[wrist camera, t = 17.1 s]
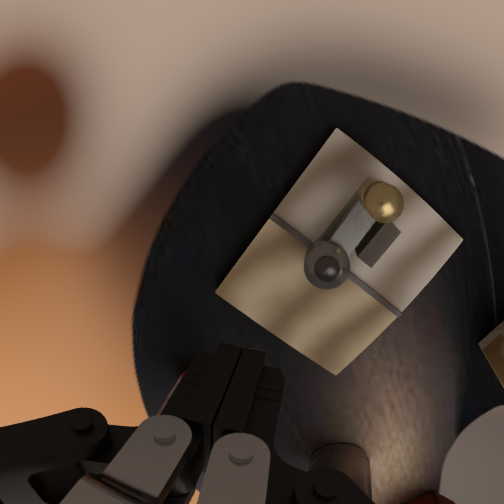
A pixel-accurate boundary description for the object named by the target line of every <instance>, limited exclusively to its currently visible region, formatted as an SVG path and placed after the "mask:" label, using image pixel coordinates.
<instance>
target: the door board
mask: <svg viewBox="0 0 504 504" xmlns="http://www.w3.org/2000/svg"><path fill="white" fill-rule="evenodd" d="M370 178H377V179H380V180H382V181H384V182H386V183H389V184H391V185H393V186H395V187H396V188H397V189H399V191H400V192H401V194H402V196H403V199H404V208H403V211H402V213H401V215H400V216H399V217H398V218H397V219H396V220H395V221H393V222H390V223H380V222H378V221H375V222H374V224H373V225H372V226H371V228H370V229H369V230H368V232H367V233H366V234H365V236H364V237H363V238H362V240H361V241H360V242H359V244H358V245H357V246H356V248H355V249H354V250H353V252H352V253H351V254H350V255H349V261H350V273H349V276H348V277H347V279H346V281H345V282H344V283H343V284H341V285H340V286H338V287H336V288H333V289H320V288H317V287H315V286H313V285H312V284H311V283H310V282H309V281H308V280H307V278H306V276H305V273H304V259H305V253H306V250H307V248H308V247H309V246H310V244H312V243H313V242H314V241H316V240H318V239H321V238H328V236H329V235H330V234H331V232H332V231H333V230H334V228H335V227H336V226H337V224H338V223H339V221H340V220H341V219H342V217H343V216H344V215H345V213H346V212H347V210H348V209H349V208H350V206H351V205H352V203H353V202H354V201H355V199H356V198H357V196H358V189H359V187H360V185H361V184H362V183H363V182H364V181H365V180H367V179H370ZM462 241H463V239H462V238H461V237H460V236H459V235H458V234H457V233H456V232H455V231H454V230H453V229H452V228H451V227H450V226H449V225H448V224H447V223H446V222H445V221H444V220H443V219H442V218H441V217H440V216H439V215H438V214H437V213H436V212H435V211H434V210H433V209H432V208H431V207H430V206H429V205H428V204H427V203H426V202H425V201H424V200H423V199H422V198H421V197H420V196H418V195H417V194H416V193H415V192H414V191H413V190H412V189H411V188H410V187H409V186H407V185H406V184H405V183H404V182H403V181H402V180H401V179H400V178H398V177H397V176H396V175H395V174H394V173H393V172H391V171H390V170H389V169H388V168H387V167H386V166H384V165H383V164H382V163H381V162H380V161H378V160H377V159H376V158H375V157H374V156H372V155H371V154H370V153H369V152H367V151H366V150H365V149H364V148H362V147H361V146H360V145H359V144H357V143H356V142H355V141H353V140H352V139H351V138H350V137H348V136H347V135H346V134H344V133H343V132H342V131H340V130H339V129H338V128H336V129H335V130H334V132H333V133H332V134H331V136H330V137H329V139H328V140H327V141H326V143H325V144H324V145H323V147H322V148H321V149H320V151H319V152H318V153H317V155H316V156H315V157H314V159H313V160H312V161H311V163H310V164H309V165H308V167H307V168H306V169H305V171H304V172H303V173H302V175H301V176H300V177H299V179H298V180H297V182H296V183H295V184H294V186H293V187H292V188H291V190H290V191H289V192H288V194H287V195H286V196H285V198H284V199H283V200H282V202H281V203H280V204H279V206H278V207H277V209H276V210H275V211H274V213H273V214H272V215H271V217H270V218H269V219H268V221H267V222H266V223H265V225H264V226H263V227H262V229H261V230H260V232H259V233H258V234H257V236H256V237H255V238H254V240H253V241H252V242H251V244H250V245H249V246H248V248H247V249H246V251H245V252H244V253H243V255H242V256H241V257H240V259H239V260H238V261H237V263H236V264H235V266H234V267H233V268H232V270H231V271H230V272H229V274H228V275H227V276H226V278H225V279H224V280H223V282H222V283H221V285H220V286H219V287H218V289H217V290H216V292H215V293H216V294H218V295H219V296H220V297H222V298H223V299H224V300H226V301H227V302H229V303H230V304H231V305H233V306H234V307H236V308H237V309H238V310H240V311H241V312H243V313H244V314H245V315H247V316H248V317H250V318H251V319H253V320H254V321H255V322H257V323H258V324H260V325H261V326H263V327H264V328H265V329H267V330H268V331H270V332H271V333H273V334H274V335H276V336H277V337H278V338H280V339H281V340H283V341H284V342H286V343H287V344H289V345H290V346H292V347H293V348H295V349H296V350H298V351H299V352H301V353H302V354H304V355H305V356H307V357H308V358H310V359H311V360H313V361H314V362H316V363H317V364H319V365H320V366H322V367H323V368H325V369H326V370H328V371H329V372H331V373H333V374H334V375H337V374H338V373H339V372H341V371H342V370H343V369H344V368H345V367H346V366H347V365H348V364H349V363H351V362H352V361H353V360H354V359H355V358H356V357H357V356H358V355H359V354H360V353H361V352H362V351H363V350H364V349H365V348H366V347H368V346H369V345H370V344H371V343H372V342H373V341H374V340H375V339H376V338H377V337H378V336H379V335H380V334H381V333H382V332H383V331H384V330H385V329H386V328H387V327H388V326H389V325H390V324H391V323H392V322H393V321H394V320H395V318H396V317H398V318H399V317H400V316H401V315H402V313H401V312H402V311H403V310H404V309H405V308H406V307H407V306H408V305H409V304H410V303H411V301H412V300H413V299H414V298H415V297H416V296H417V295H418V294H419V293H420V291H421V290H422V289H423V288H424V287H425V286H426V285H427V284H428V282H429V281H430V280H431V279H432V278H433V277H434V275H435V274H436V273H437V272H438V271H439V269H440V268H441V267H442V266H443V265H444V263H445V262H446V261H447V260H448V259H449V257H450V256H451V255H452V254H453V252H454V251H455V250H456V249H457V247H458V246H459V245H460V243H461V242H462Z"/></svg>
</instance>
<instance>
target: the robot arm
mask: <svg viewBox="0 0 504 504" xmlns="http://www.w3.org/2000/svg"><path fill="white" fill-rule="evenodd" d="M266 356H267V351H264V350H258V349H253V348H247V347H244V348H243V347H241V346H235V345H230V344H225V343H221V344H220V345H219V347H218V349H217V351H216V353H215V355H214V357H213V356H208V355H204V354H202V355H201V356H199V357H198V358H196V359H195V360H193V361H192V362H191V363H190V365H189V366H188V368H187V370H186V371H185V374H184V375H183V376H182V378H181V380H180V383H178V385H177V386H176V388H175V390H174V392H173V393H172V395H171V397H170V398H169V400H168V402H167V403H166V405H165V407H164V408H163V410H162V412H161V413H160V415H156V416H152V417H149V418H148V419H146V420H144V421H143V422H142V423H141V424H140V425H139V426H136V427H128V426H116V425H108V424H107V421H106V418H105V417H104V416H103V415H102V414H101V413H100V412H98V411H97V410H94V409H91V408H76V409H72V410H69V411H65V412H61V413H58V414H54V415H51V416H47V417H43V418H39V419H35V420H30V421H26V422H22V423H18V424H13V425H9V426H4V427H0V504H189V502H190V500H191V498H192V496H193V495H194V493H195V490H196V484H197V481H198V479H199V476H200V474H201V471H204V472H206V473H205V477H204V480H203V484H202V487H201V491H200V494H199V498H198V502H197V504H375V503H374V502H373V501H372V489H371V472H370V460H369V459H367V458H366V454H365V452H364V451H363V450H362V449H361V448H360V447H358V446H355V445H351V444H332V445H328V446H325V447H322V448H320V449H318V450H317V451H315V452H314V453H313V454H312V456H311V458H310V467H309V471H308V472H305V471H303V470H300V469H298V468H295V467H293V466H291V465H289V464H287V463H286V462H284V461H283V460H282V459H281V458H280V457H279V456H278V455H277V453H276V451H275V449H274V436H275V431H276V426H277V420H278V415H279V410H280V404H281V399H282V393H283V388H284V382H285V379H284V377H283V374H282V372H281V370H280V369H279V368H273V367H267V366H265V364H266Z"/></svg>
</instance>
